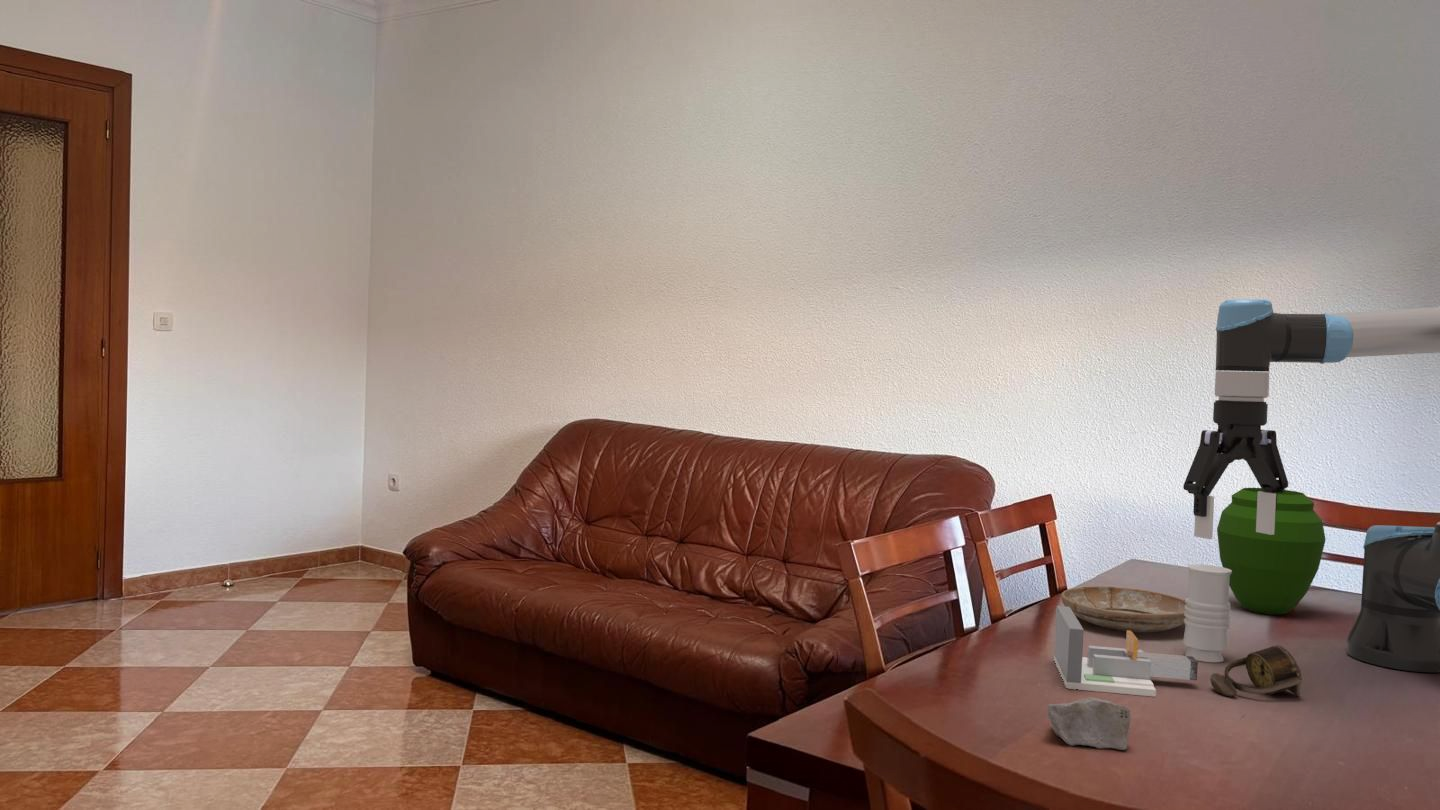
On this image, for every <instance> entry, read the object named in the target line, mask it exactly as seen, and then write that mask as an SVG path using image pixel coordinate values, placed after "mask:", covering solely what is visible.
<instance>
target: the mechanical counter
mask: <svg viewBox="0 0 1440 810" xmlns="http://www.w3.org/2000/svg"><path fill="white" fill-rule="evenodd" d="M1244 665H1245V668H1246V671H1247V674H1248V677H1249V679H1250V681H1251V683H1252V684H1253V686H1247V685H1244V684H1241V683H1239V682H1237V681H1235V680H1234V679H1232V678H1231V677H1230V675H1229V673H1230V671H1231V670H1232V669H1234V668H1237V667H1241V666H1244ZM1209 678H1210V684H1211V686H1212V687H1213V689H1214V690H1215V691H1216V692H1217V693H1219V694H1221V695H1223V696H1226V697H1235V696H1237V695H1238V691H1240V692H1242V693H1248V694H1257V695H1259V694H1260V695H1264V694H1265V695H1275V694H1277V693H1280V692H1283V691H1287V690H1288V691H1289V692H1291V694H1292V693H1293V695H1295V696H1296V697H1301V684H1302V682H1303V676H1302V673H1301V668H1300V666H1299V664H1298V662H1297V661H1296V659H1295V657H1294V655H1293V654H1292V653H1291V652H1290V651H1289V650H1288V649H1287V648H1285V647H1283V646H1282V645H1277V644H1276V645H1272V646H1270V647H1266V648H1263V649H1260V650H1256V651H1252V652H1251V653H1248V654H1247V655H1246V657H1243V658H1239V659H1236V660H1234V661H1231V662H1229V663H1228V664H1227V665H1226V667H1225V668H1224V674H1223V675H1222V674H1220V673H1214V672H1213V673H1212V674H1211V675H1210V677H1209Z"/></svg>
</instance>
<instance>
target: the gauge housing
mask: <svg viewBox="0 0 1440 810" xmlns="http://www.w3.org/2000/svg"><path fill="white" fill-rule="evenodd" d="M1055 613H1056V615H1055V629H1054V631H1055V634H1054V650H1053V652H1054V653H1053V662H1054V661H1055V662H1054V664H1055V663H1056V664H1055V666H1056V669H1057V668H1058V669H1057V671H1058V670H1059V671H1058V673H1059V672H1060V673H1059V675H1060V674H1061V675H1060V677H1062V678H1061V680H1062V679H1063V680H1062V682H1063V681H1064V682H1063V684H1064V687H1065V688H1068V690H1076V689H1078V690H1077V691H1088V692H1097V693H1098V692H1100V693H1110V694H1121V695H1130V696H1131V695H1132V696H1142V697H1153V698H1156V697H1157V689H1156V688H1155V686H1154V683H1153V681H1152V680H1151V676H1150V673H1151V661H1150V660H1149V659H1143V658H1137V660H1135V659H1132V658H1131V657H1124V651H1127V650H1126V648H1120V647H1110V646H1096V645H1088V646H1087V657H1085V656H1083V652H1084V651H1083V650H1084V633H1085V632H1084V631H1085V630H1084V628H1083V626H1082V625H1081V623H1080V621H1079V620H1078V617H1077V616H1075V615H1074V613H1073V611H1072V610H1071V608H1070V607H1066V606H1064V605H1063V606H1062V605H1056V612H1055ZM1138 652H1144V651H1143V650H1142V649H1138Z"/></svg>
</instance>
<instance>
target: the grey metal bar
mask: <svg viewBox="0 0 1440 810" xmlns="http://www.w3.org/2000/svg"><path fill="white" fill-rule="evenodd" d="M1138 648H1139V639H1138V638H1137V637H1136V635H1135V634H1134V632H1132V631H1131V630H1127V631H1126V637H1125V649H1126V650H1127V651H1124V657H1131V658H1132V659H1135V660H1137V658H1143V659H1149V660H1150V661H1151V673H1150V677H1154V678H1164V679H1165V678H1166V679H1175V680H1177V679H1178V680H1187V681H1189V680H1190V681H1198V667H1199V666H1198V665H1199V662H1198V660H1196V659H1195V658H1194V657H1192V656H1185V655H1181V654H1180V655H1178V654H1177V655H1176V654H1167V653H1166V654H1164V653H1154V652H1145V651H1143V652H1138V650H1139V649H1138Z"/></svg>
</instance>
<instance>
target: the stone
mask: <svg viewBox="0 0 1440 810" xmlns="http://www.w3.org/2000/svg"><path fill="white" fill-rule="evenodd" d="M1047 717H1048V719H1049V720H1050V723H1051V724H1052V728H1053V732H1054V733H1055V735H1056V736H1057V737H1059V738H1061V739H1062V741H1063V742H1065V744H1066V745H1068V746H1078V745H1081V746H1088V747H1094V748H1096V749H1115V750H1118V751H1126V749H1127V748H1128V741H1129V737H1130V735H1129V734H1130V733H1129V732H1130V731H1129V730H1130V727H1131V724H1132V722H1131V720H1132V719H1131V710H1130V708H1129V707H1128V706H1127V705H1122V704H1115V703H1114V702H1112V701H1109V700H1104V699H1101V698H1097V697H1085V698H1081V699H1076V700H1074V701H1072V702H1068V703H1067V702H1064V703H1055V704H1054V703H1048V705H1047Z"/></svg>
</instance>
